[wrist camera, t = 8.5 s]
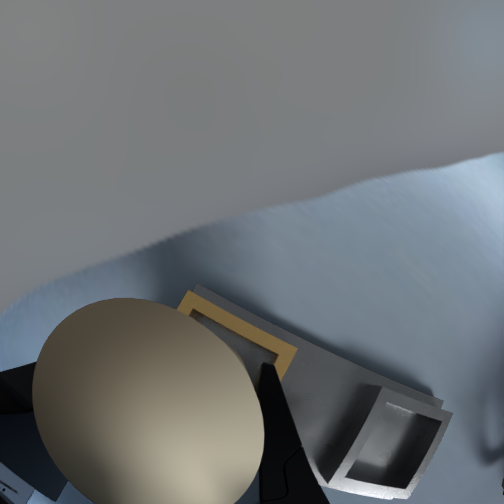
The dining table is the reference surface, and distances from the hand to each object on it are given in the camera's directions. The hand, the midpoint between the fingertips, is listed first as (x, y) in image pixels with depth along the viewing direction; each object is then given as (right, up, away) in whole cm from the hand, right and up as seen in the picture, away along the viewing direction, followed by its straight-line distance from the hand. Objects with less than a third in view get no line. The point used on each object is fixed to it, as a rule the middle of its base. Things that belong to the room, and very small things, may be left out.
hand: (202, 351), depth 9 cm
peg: (-1, -3, +5) cm, 6 cm away
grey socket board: (+5, -8, +8) cm, 12 cm away
